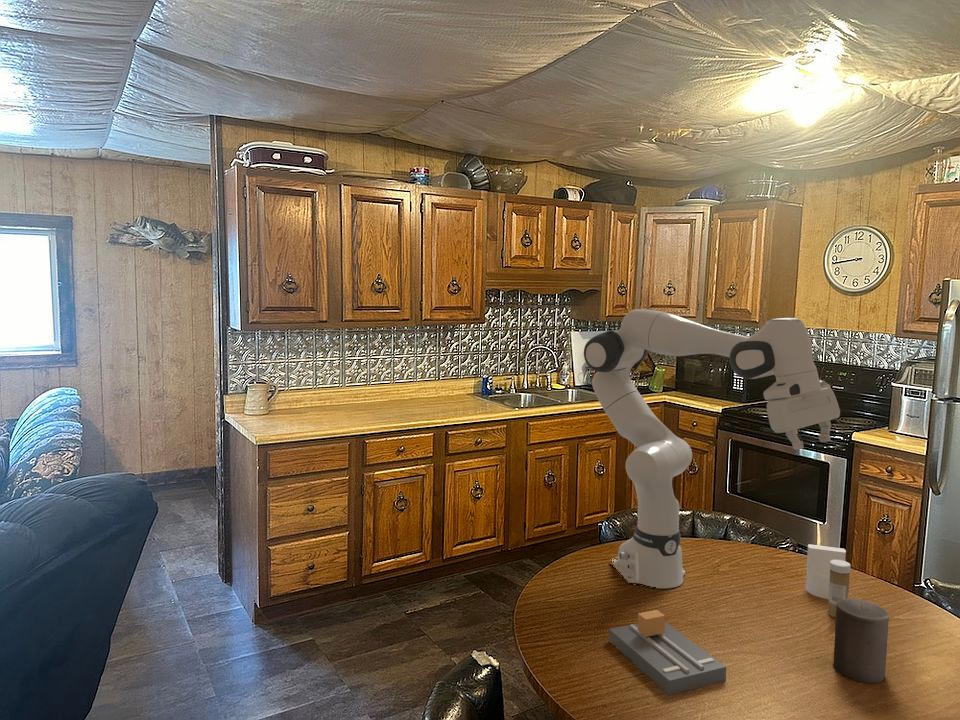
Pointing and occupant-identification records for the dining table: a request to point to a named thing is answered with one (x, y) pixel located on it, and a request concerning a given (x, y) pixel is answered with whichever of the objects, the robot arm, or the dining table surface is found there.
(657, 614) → the fader tab
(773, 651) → the dining table surface
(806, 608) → the dining table surface
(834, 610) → the sprinkles bottle
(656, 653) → the fader console
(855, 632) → the pillar candle
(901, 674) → the dining table surface
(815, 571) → the base with upright slab
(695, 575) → the dining table surface
